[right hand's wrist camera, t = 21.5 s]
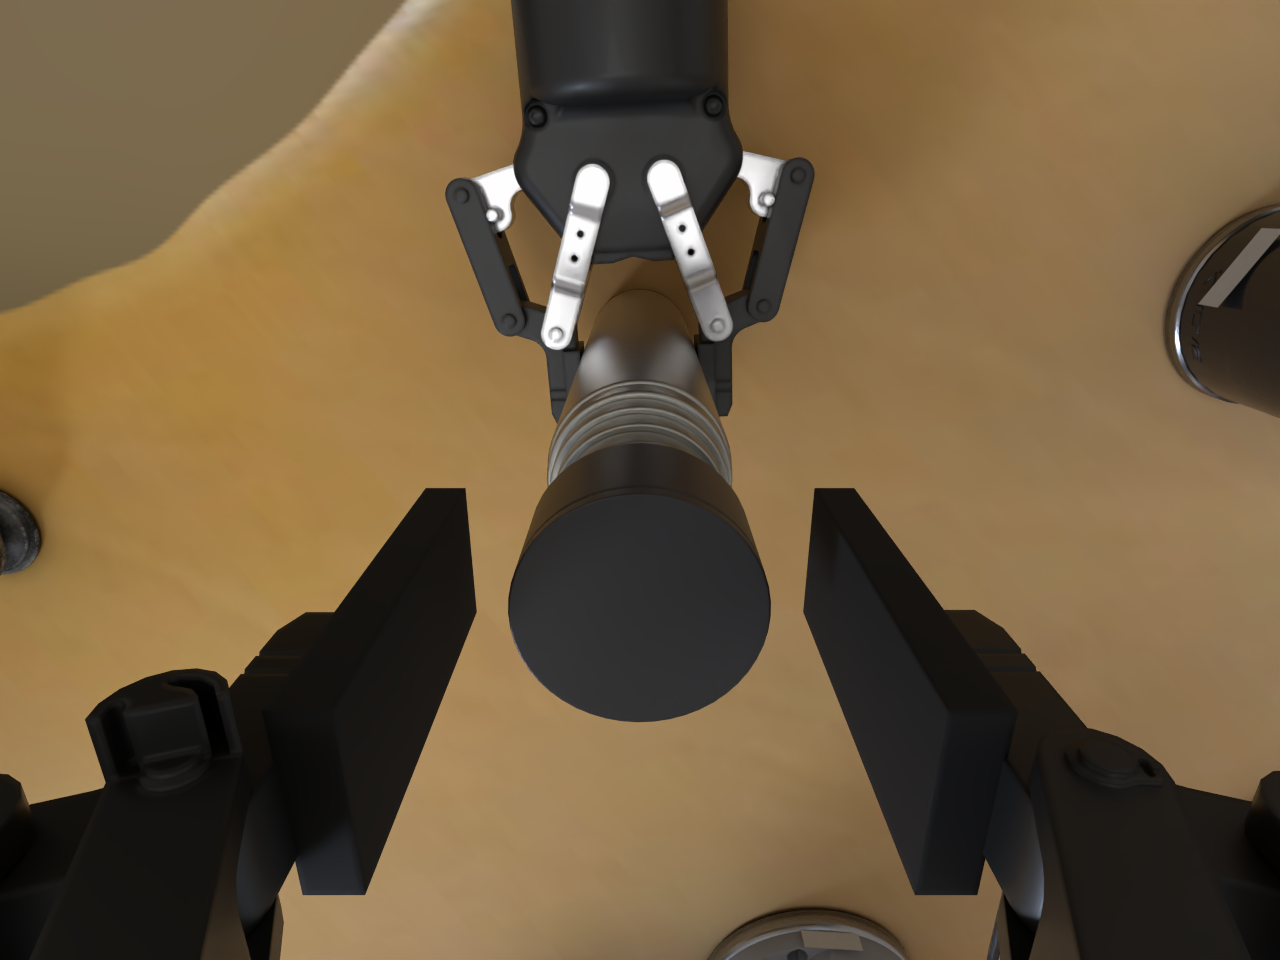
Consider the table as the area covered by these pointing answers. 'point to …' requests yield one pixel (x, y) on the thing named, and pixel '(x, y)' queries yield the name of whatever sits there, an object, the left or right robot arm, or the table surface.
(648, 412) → the bottle
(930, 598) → the right robot arm
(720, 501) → the cap
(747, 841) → the table surface
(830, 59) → the table surface
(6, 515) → the grey metal turned piece
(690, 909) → the table surface
